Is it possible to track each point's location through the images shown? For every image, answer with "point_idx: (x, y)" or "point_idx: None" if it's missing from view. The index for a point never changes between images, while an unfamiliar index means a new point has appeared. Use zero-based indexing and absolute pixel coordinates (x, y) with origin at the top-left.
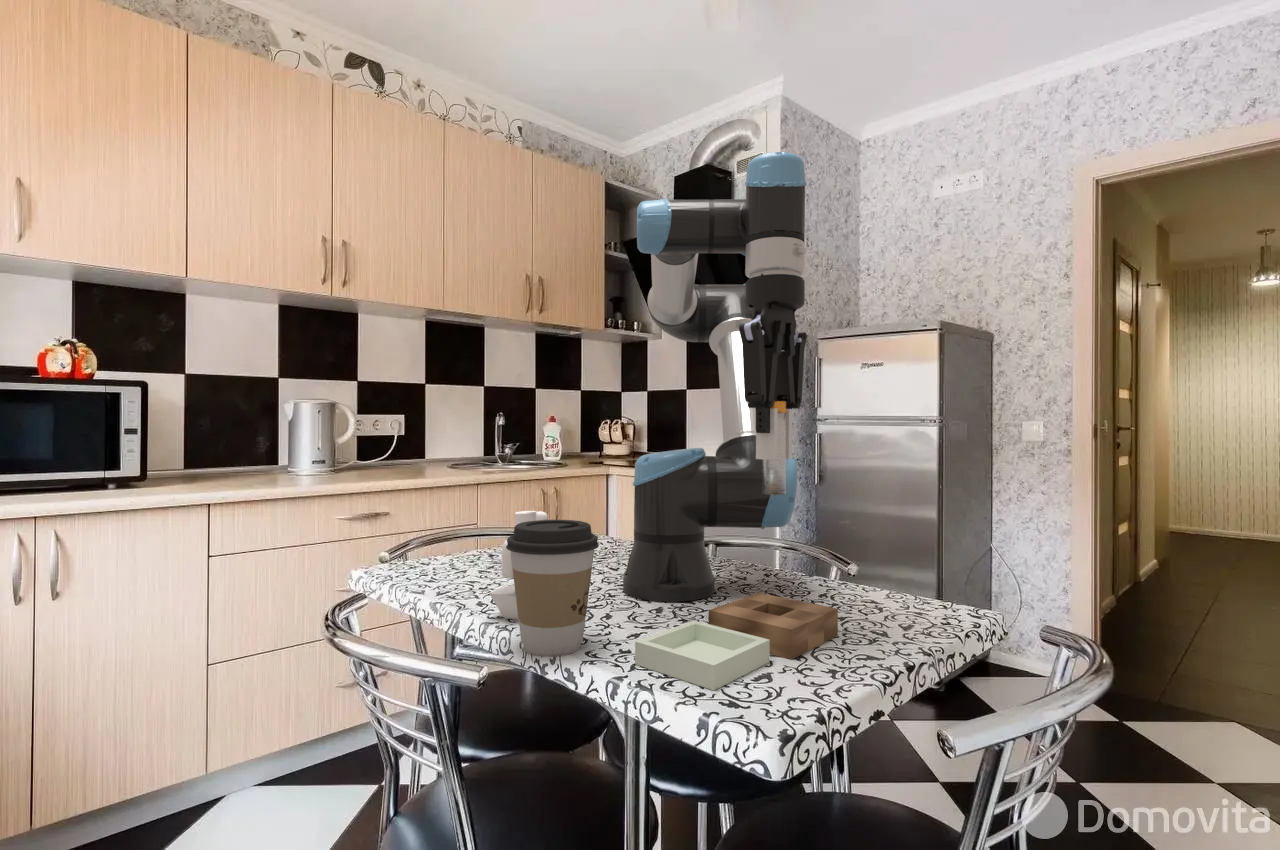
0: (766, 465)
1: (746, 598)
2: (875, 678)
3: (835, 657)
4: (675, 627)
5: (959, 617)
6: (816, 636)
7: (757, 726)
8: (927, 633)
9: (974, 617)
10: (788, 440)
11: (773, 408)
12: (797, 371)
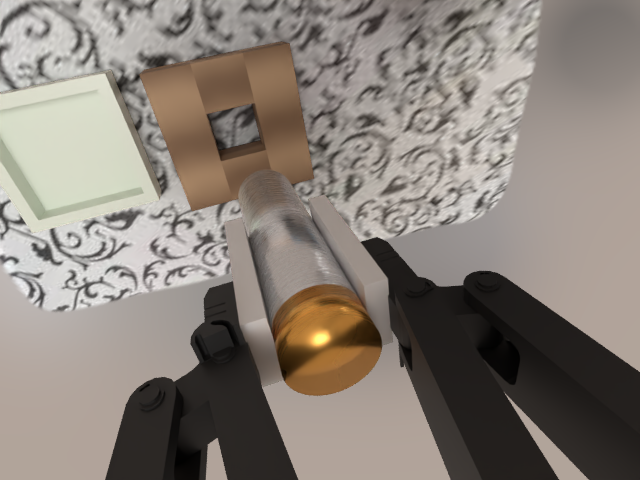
0: (246, 231)
1: (244, 59)
2: (229, 267)
3: None
4: (52, 86)
5: (466, 195)
6: None
7: (43, 294)
8: (388, 212)
9: (476, 203)
10: None
11: (262, 383)
12: (573, 460)
